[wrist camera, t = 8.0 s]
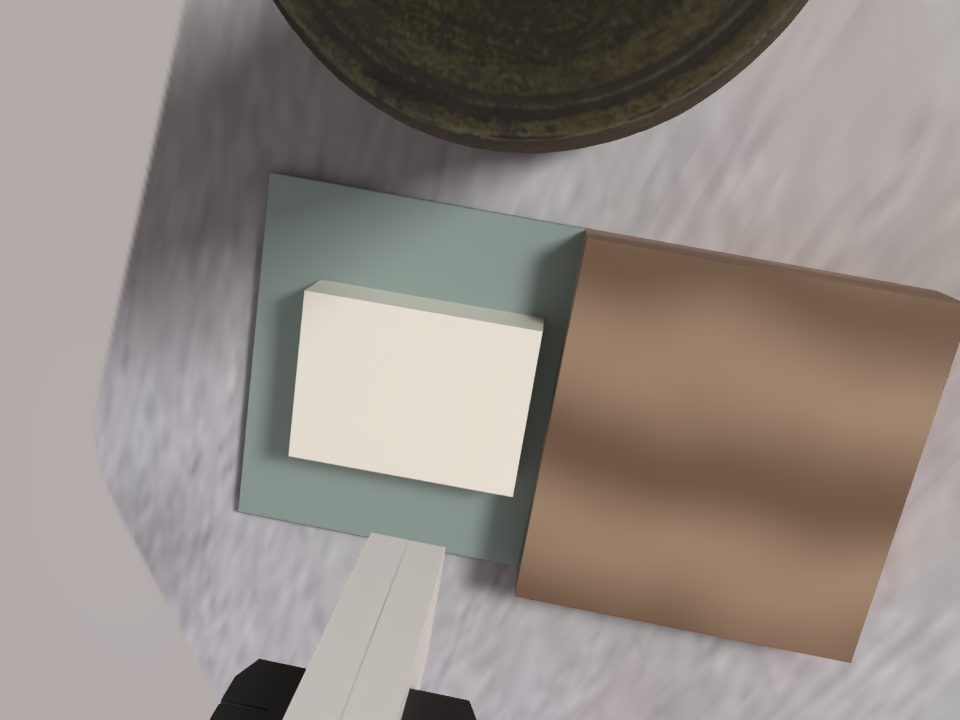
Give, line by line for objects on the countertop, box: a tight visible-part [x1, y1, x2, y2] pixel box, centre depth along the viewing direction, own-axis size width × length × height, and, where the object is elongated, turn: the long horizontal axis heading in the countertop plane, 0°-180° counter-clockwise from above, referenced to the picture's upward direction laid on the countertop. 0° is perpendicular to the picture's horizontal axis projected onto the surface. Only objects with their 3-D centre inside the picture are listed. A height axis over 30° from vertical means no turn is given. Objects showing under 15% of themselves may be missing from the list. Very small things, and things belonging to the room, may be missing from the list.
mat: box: [238, 173, 585, 566], centre depth 31 cm, size 13×11×1 cm
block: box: [288, 280, 544, 497], centre depth 30 cm, size 6×8×2 cm
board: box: [515, 228, 960, 663], centre depth 29 cm, size 13×12×2 cm
